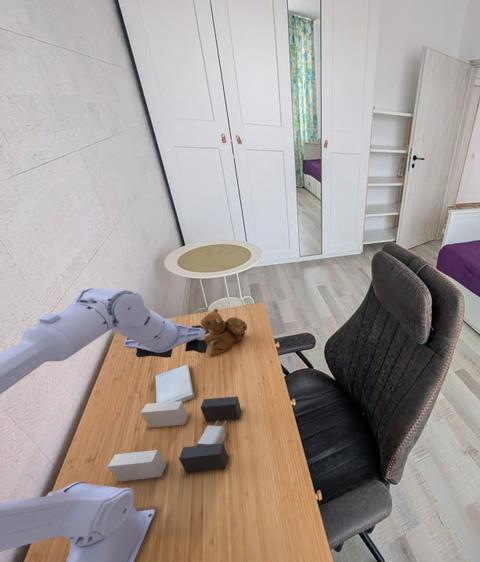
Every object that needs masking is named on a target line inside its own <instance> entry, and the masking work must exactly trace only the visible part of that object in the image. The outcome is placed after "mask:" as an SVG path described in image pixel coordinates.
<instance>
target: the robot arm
mask: <svg viewBox="0 0 480 562" xmlns="http://www.w3.org/2000/svg"><path fill="white" fill-rule="evenodd" d="M38 321H39V322H37V323H35V324H33V325H31V326H30V327H28V328H26V329H25V330H24V331H23V332H22V335H21V339H20V341H19V343H18V344H15V345H14V346H12V347H10V348H8V349H6V350H3V351H2V352H0V395H2V394H3V393H5V392H6V391H8V389H10V388H12V387H13V386H14V385H15V384H18V382H20V381H21V380H23V379H24V378H26V377H27V376H28V375H29V374H31V373H32V372H33V371H36V370H37V368H39V367H40V366H42V365H43V364H45V363H47V362H63V361H66V360H68V359H69V358H71V357H72V356H74V355H75V354H77V353H78V352H79V351H81V350H82V349H84V348H86V347H87V346H89V345H90V344H92V343H93V342H94V341H96V340H97V339H99V338H100V337H101V336H103V335H104V334H107V333H108V332H109V331H111V330H112V331H114V332H115V333H116V334H119V335H121V336H123V337H125V340H124V343H123V347H124V348H126V349H130V350H133V349H136V352H135V356H136V357H137V358H145V357H157V358H158V357H159V358H165V359H166V358H167V359H168V358H172V354H173V350H174V349H175V348H177V347H180V346H182V345H184V344H185V348H184V352H197V353H199V354H206V353H207V349H208V343H206V342H205V339H204V337H205V336H206V335H205V330H203V327H202V325H200V324H199V325H191V326H187V325H183V324H177V323H175V319H173V318H164V317H163V316H161V315H160V314H158V313H157V312H156V311H154V310H152V309H150V308H149V307H147V306H146V305H145V302H144V299H143V296H142V295H141V294H140V293H139V292H133V291H131V290H125V289H116V288H105V287H90V288H88V289H82V290H81V291H79V292H78V293H77V295H76V296H75V297H74V298H73V301H72V303H70V304H69V305H68V306H67V307H66V308H63V309H62V310H60V311H58V312H56V313H46V314H44V315H42V316H40V317H39V318H38ZM134 503H135V491H134V489H133V488H131V487H115V486H108V485H101V484H92V483H87V482H85V481H81V480H80V481H74V482H72V483H70V484H68V485H66V486H65V487H63V488H61V489H58V490H51V491H49V492H48V493H47V494H46V496H38V497H37V496H36V497H31V498H22V499H16V500H9V501H1V502H0V553H1V552H4V551H8V550H12V549H16V548H19V547H23V546H27V545H30V544H31V545H32V544H33V543H38V542H42V541H45V540H46V541H47V540H50V539H53V538H68V540H69V541H70V549H69V553H68V554H67V555H68V556H67V558H66V560H65V562H135V561H136V559H137V556H138V553H139V551H140V548H141V546H142V544H143V541H144V539H145V537H146V535H147V532H148V530H149V528H150V525H151V523H152V521H153V518H154V516H155V513H156V510H155V508H154V509H153V508H152V509H151V508H150V509H145V510H137V509H136V508H135V507H134Z"/></svg>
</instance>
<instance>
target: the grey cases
mask: <svg viewBox="0 0 480 562" xmlns="http://www.w3.org/2000/svg"><path fill="white" fill-rule="evenodd" d="M199 408H200V410H201V414H202V415H203V418H204V420H205V423H213V422H214V423H215V422H218V421H219V422H225V421H234V420H240V418H241V415H242V408H241V404H240V400H239V396H238V395H237V396H236V395H235V396H227V397H225V396H223V397H213V398H203V400H202V402H201V404H200V407H199ZM217 420H218V421H217ZM178 461H179V462H180V464H181V466H182V467H183V470H184V472H185V474H195V473H200V472H211V471H219V470H226V468H227V465H228V461H229V454H228V452H227V448H226V447H225V443H224V442H222V443H218V444H209V445H199V446H197V445H192V446H190V445H189V446H183V447H182V450H181V451H180V454H179V457H178Z"/></svg>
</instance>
